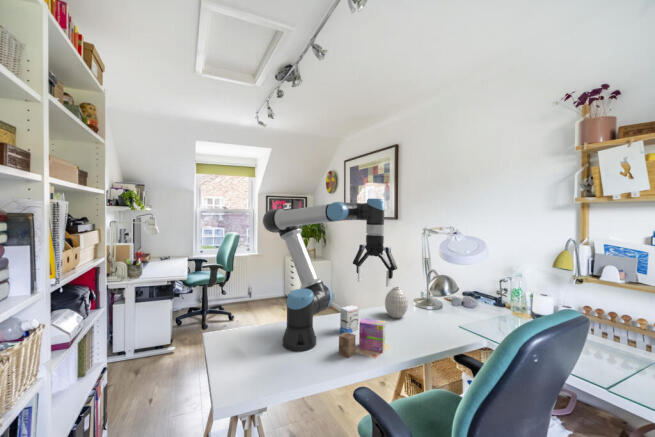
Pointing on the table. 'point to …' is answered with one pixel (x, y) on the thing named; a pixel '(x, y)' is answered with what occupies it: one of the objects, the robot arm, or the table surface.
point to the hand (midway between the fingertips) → (373, 283)
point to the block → (347, 344)
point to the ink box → (349, 319)
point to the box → (372, 335)
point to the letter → (371, 352)
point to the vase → (396, 303)
